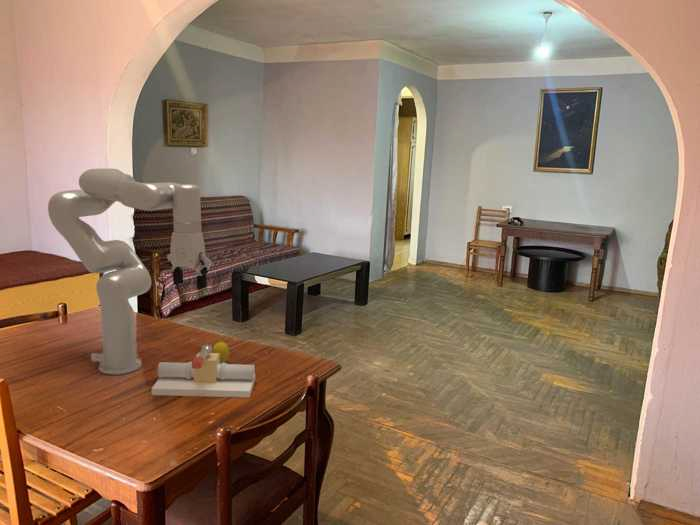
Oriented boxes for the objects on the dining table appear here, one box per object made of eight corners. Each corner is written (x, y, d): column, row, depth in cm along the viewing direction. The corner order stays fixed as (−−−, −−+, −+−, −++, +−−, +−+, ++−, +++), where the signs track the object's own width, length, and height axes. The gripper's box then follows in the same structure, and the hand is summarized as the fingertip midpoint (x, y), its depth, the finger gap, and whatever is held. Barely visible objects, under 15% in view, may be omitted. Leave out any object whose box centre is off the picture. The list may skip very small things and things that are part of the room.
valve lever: (202, 349, 162) (202, 343, 162) (212, 349, 162) (212, 343, 162) (190, 368, 148) (190, 362, 147) (201, 368, 148) (201, 362, 148)
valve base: (151, 395, 154) (150, 360, 152) (164, 377, 166) (163, 345, 164) (249, 397, 156) (249, 363, 153) (255, 380, 167) (255, 348, 165)
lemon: (225, 368, 175) (225, 345, 174) (209, 366, 176) (209, 343, 175) (232, 362, 181) (232, 339, 179) (216, 360, 182) (216, 337, 180)
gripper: (156, 226, 154) (159, 284, 158) (199, 232, 146) (201, 293, 149) (177, 224, 161) (179, 279, 164) (219, 229, 152) (220, 287, 155)
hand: (189, 286), depth 156 cm, fingers open, 9 cm apart
